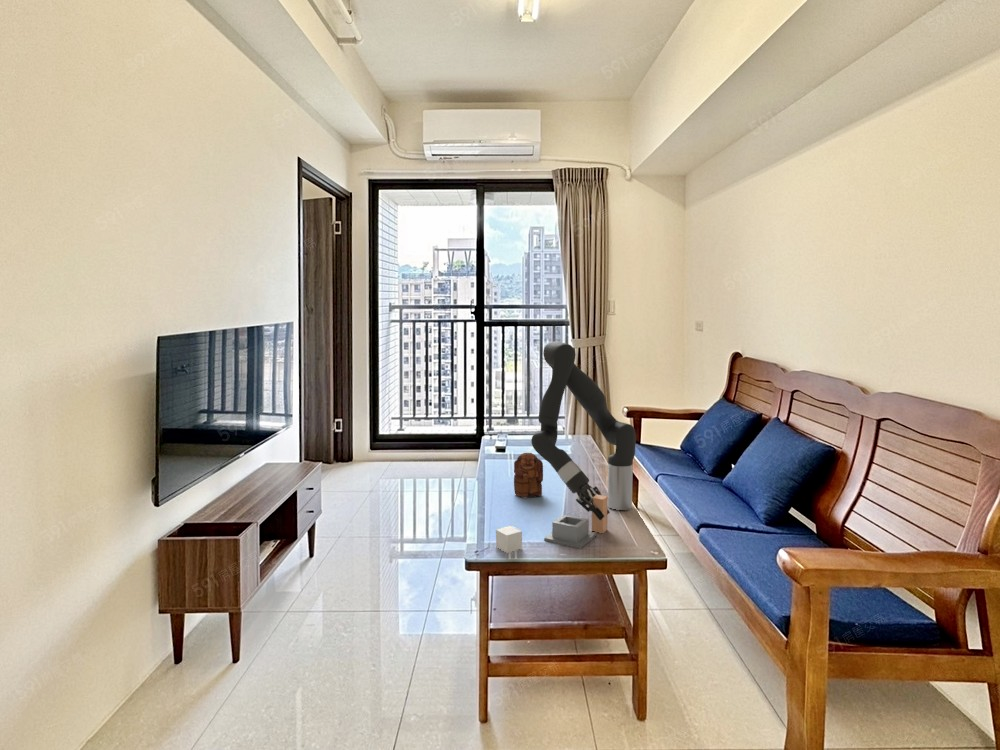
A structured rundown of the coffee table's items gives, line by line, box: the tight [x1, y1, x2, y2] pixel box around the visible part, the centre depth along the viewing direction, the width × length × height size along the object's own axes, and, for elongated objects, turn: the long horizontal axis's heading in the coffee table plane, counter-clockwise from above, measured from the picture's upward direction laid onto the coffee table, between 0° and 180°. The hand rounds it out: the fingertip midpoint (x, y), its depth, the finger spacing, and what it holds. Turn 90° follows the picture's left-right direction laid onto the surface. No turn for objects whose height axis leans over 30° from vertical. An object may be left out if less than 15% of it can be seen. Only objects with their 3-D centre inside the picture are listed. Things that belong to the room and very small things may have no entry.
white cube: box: [495, 525, 523, 554], centre depth 183 cm, size 6×6×6 cm
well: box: [543, 513, 598, 550], centre depth 191 cm, size 13×13×6 cm
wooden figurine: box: [513, 452, 544, 498], centre depth 237 cm, size 12×6×18 cm, turn 96°
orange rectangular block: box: [591, 494, 608, 534], centre depth 197 cm, size 4×4×12 cm
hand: (605, 516), depth 196 cm, fingers closed on orange rectangular block, 4 cm apart
